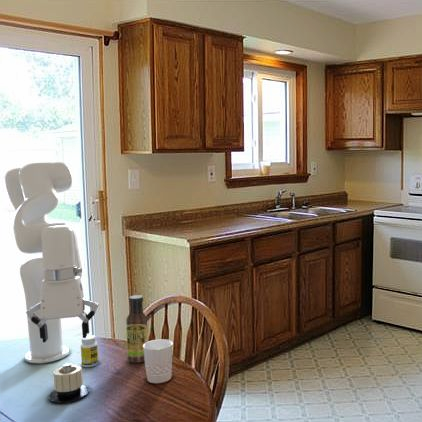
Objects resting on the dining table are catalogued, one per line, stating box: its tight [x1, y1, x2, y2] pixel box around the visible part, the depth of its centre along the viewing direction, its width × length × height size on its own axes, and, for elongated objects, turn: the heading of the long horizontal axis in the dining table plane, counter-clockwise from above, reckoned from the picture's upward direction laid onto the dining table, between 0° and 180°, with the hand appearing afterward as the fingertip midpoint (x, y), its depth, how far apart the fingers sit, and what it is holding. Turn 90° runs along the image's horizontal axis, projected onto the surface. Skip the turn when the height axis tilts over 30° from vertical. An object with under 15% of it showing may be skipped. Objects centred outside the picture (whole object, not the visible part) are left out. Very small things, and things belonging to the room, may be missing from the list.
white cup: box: [143, 338, 173, 384], centre depth 149 cm, size 8×8×10 cm
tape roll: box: [52, 364, 84, 392], centre depth 140 cm, size 7×7×4 cm
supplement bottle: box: [80, 334, 99, 368], centre depth 160 cm, size 5×5×8 cm
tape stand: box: [48, 362, 90, 405], centre depth 140 cm, size 10×10×8 cm
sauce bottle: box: [125, 294, 149, 364], centre depth 162 cm, size 6×6×20 cm
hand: (65, 338), depth 139 cm, fingers open, 9 cm apart
